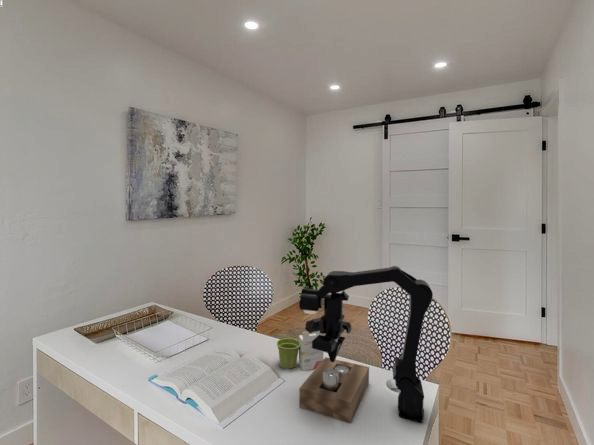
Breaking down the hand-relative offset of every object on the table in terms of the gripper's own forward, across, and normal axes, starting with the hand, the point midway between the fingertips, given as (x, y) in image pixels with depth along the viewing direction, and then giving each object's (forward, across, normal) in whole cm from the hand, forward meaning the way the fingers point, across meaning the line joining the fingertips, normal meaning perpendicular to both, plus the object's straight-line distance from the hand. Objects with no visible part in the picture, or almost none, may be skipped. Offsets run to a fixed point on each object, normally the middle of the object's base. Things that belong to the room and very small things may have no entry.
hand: (332, 361), depth 99 cm
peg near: (+8, +2, 0) cm, 9 cm away
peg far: (+12, -9, 0) cm, 15 cm away
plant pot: (+13, -12, -23) cm, 29 cm away
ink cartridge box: (+13, -16, -15) cm, 26 cm away
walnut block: (+12, -3, 0) cm, 13 cm away
